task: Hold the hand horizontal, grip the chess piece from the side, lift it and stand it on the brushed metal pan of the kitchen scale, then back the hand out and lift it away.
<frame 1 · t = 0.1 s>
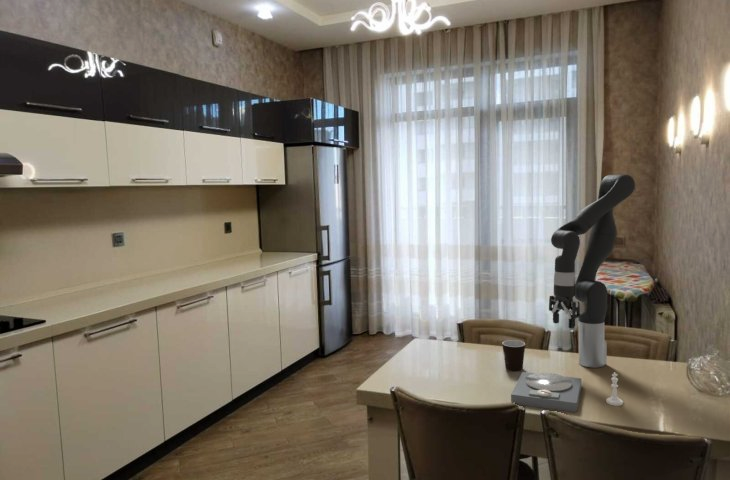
hand: (563, 325, 195), 17 cm above the table, tool pointing down, fingers open, 8 cm apart
chess piece: (614, 403, 166), on the table
coffee mug: (515, 367, 202), on the table
kitchen scale: (547, 394, 175), on the table
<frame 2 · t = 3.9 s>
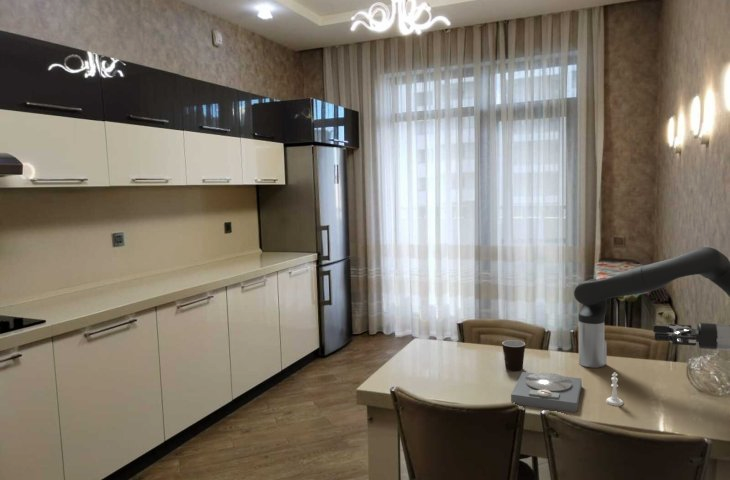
hand: (653, 332, 159), 24 cm above the table, tool horizontal, fingers open, 8 cm apart
nothing on the table moved.
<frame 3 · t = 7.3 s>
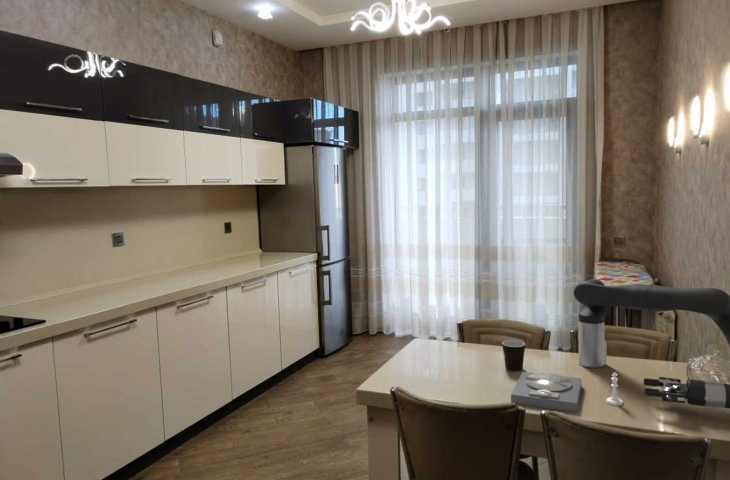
hand: (644, 386, 162), 6 cm above the table, tool horizontal, fingers open, 8 cm apart
nothing on the table moved.
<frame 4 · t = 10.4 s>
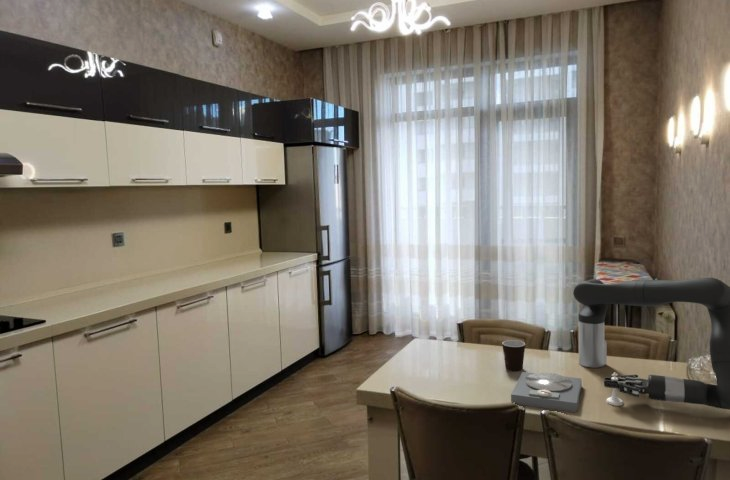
hand: (604, 381, 167), 7 cm above the table, tool horizontal, fingers closed on chess piece
chess piece: (614, 403, 166), on the table, touching gripper
everything else where it was.
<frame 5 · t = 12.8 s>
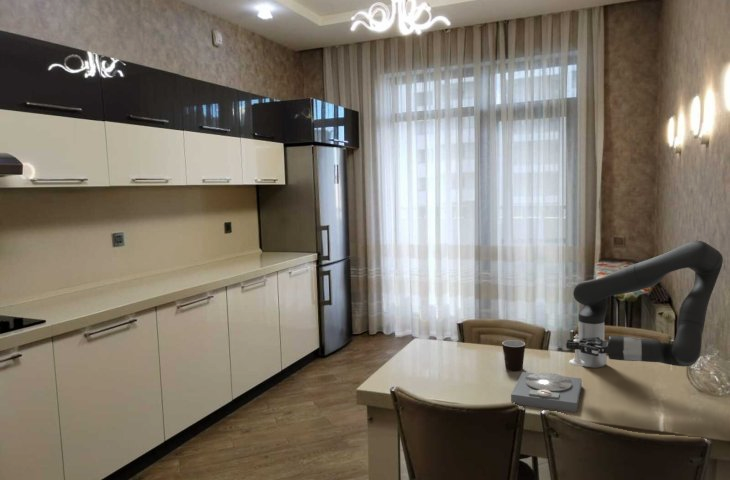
hand: (567, 344, 172), 18 cm above the table, tool horizontal, fingers closed on chess piece
chess piece: (576, 364, 171), point 11 cm above the table, touching gripper
everything else where it was.
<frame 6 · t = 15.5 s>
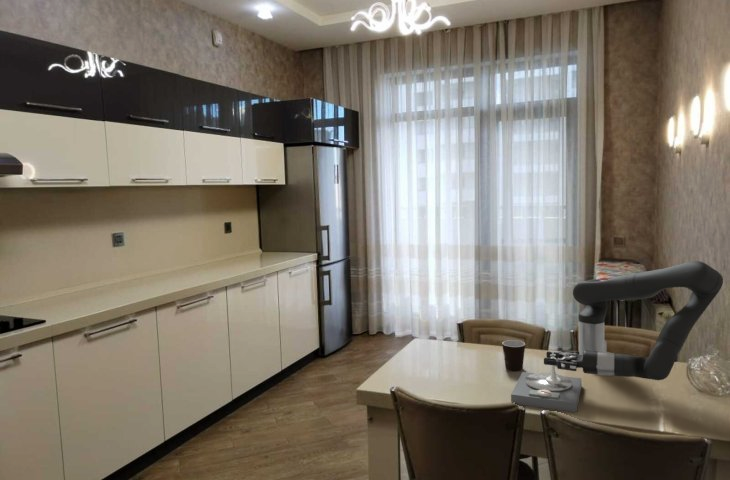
hand: (545, 357, 176), 12 cm above the table, tool horizontal, fingers open, 6 cm apart
chess piece: (553, 381, 176), point 4 cm above the table, touching kitchen scale
everything else where it was.
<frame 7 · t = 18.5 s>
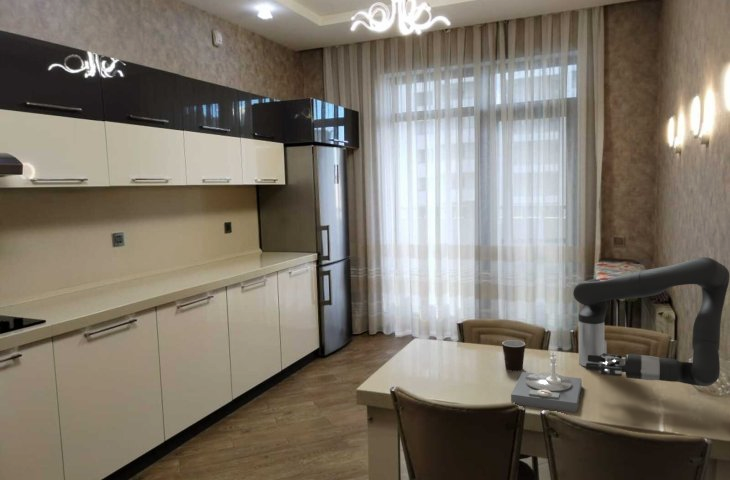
hand: (586, 361, 170), 12 cm above the table, tool horizontal, fingers open, 8 cm apart
nothing on the table moved.
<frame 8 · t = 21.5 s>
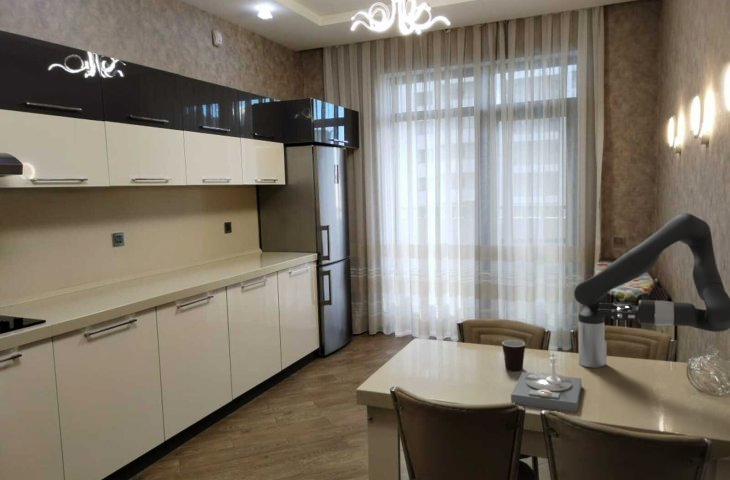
hand: (598, 309, 167), 30 cm above the table, tool horizontal, fingers open, 8 cm apart
nothing on the table moved.
at the end: chess piece inside the target area on the kitchen scale (1.7 cm from its centre), point 3.8 cm above the kitchen scale's base; chess piece tilted 0°; the gripper is holding nothing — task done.
